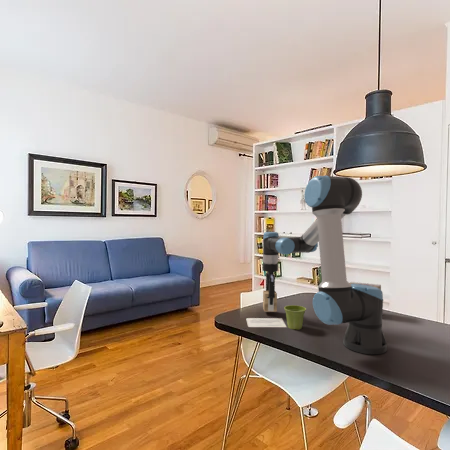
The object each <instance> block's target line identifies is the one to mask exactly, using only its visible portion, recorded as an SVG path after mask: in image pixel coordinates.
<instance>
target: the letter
mask: <svg viewBox="0 0 450 450" xmlns="http://www.w3.org/2000/svg"><path fill="white" fill-rule="evenodd" d="M246 323H247V327H248V328H287V325H286V323H285V321H284V320H283V318H282V317H279V318H277V317H274V318H273V317H272V318H271V317H270V318H269V317H267V318H266V317H265V318H264V317H263V318H262V317H261V318H259V317H256V318H255V317H248V318H246Z"/></svg>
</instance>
